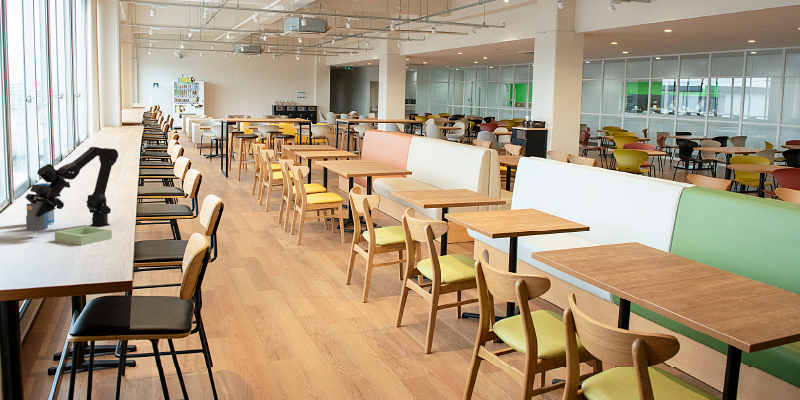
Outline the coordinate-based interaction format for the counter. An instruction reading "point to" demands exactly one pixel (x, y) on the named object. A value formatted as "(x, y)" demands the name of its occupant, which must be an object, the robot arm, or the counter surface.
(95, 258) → the counter surface
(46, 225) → the perfume bottle
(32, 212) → the grey square pillar
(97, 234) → the pale green tray
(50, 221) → the beverage bottle
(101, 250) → the counter surface
